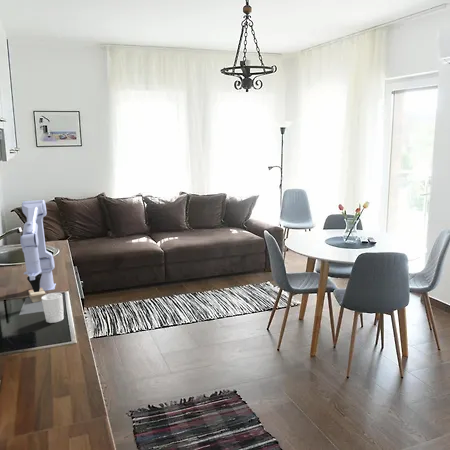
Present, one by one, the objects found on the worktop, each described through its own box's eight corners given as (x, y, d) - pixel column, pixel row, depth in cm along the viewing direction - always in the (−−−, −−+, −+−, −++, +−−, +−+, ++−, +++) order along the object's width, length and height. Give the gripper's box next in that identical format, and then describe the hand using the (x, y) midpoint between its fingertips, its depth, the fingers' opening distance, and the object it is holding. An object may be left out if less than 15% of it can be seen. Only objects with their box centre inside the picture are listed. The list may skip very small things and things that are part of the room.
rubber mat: (26, 298, 214) (25, 297, 214) (57, 294, 217) (57, 293, 217) (19, 315, 193) (18, 314, 193) (54, 310, 197) (54, 309, 196)
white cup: (40, 322, 184) (36, 298, 182) (53, 315, 191) (50, 292, 189) (56, 324, 181) (53, 300, 180) (69, 316, 189) (66, 293, 187)
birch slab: (32, 302, 207) (29, 296, 215) (46, 299, 210) (42, 293, 218) (31, 296, 206) (28, 290, 215) (45, 293, 209) (42, 287, 218)
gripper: (24, 258, 204) (29, 287, 207) (19, 266, 191) (24, 298, 193) (41, 256, 206) (45, 285, 209) (38, 264, 192) (42, 295, 195)
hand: (36, 291), depth 201 cm, fingers closed
